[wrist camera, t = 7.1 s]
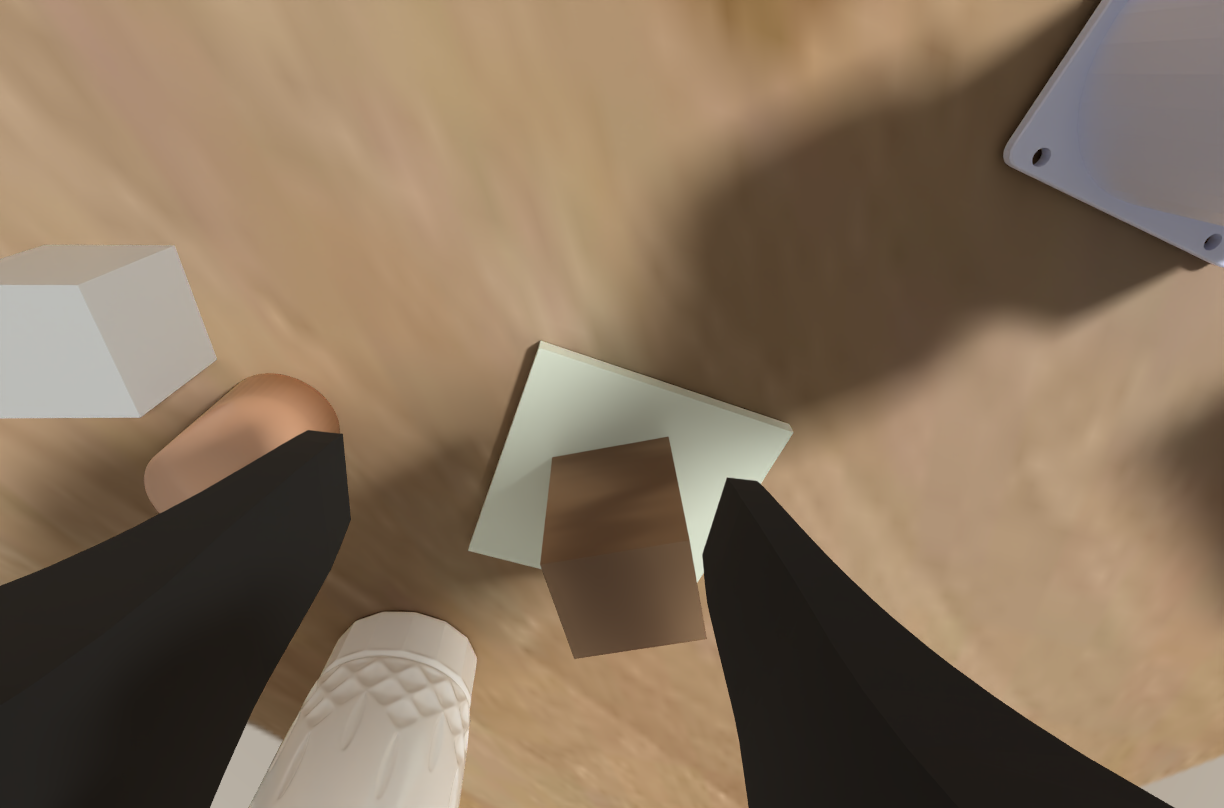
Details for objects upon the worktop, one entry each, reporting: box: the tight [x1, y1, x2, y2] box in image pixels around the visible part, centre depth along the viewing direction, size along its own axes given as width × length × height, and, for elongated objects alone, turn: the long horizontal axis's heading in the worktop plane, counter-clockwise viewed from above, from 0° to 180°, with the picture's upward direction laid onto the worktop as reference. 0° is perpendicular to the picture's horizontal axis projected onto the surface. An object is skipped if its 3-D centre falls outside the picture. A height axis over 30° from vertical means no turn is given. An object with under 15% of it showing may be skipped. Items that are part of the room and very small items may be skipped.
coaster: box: [468, 341, 794, 582], centre depth 23 cm, size 10×10×1 cm
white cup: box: [248, 612, 477, 808], centre depth 24 cm, size 8×8×10 cm
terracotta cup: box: [144, 373, 340, 513], centre depth 19 cm, size 4×4×4 cm
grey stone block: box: [0, 245, 217, 418], centre depth 17 cm, size 4×4×4 cm
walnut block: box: [540, 437, 707, 659], centre depth 20 cm, size 4×4×6 cm
